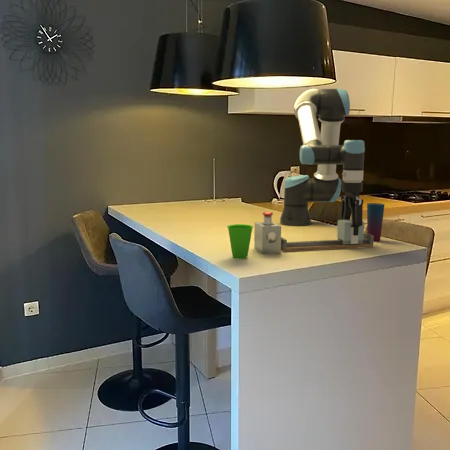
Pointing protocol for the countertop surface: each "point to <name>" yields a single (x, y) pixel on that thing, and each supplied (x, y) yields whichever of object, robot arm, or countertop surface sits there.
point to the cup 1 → (240, 239)
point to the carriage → (348, 231)
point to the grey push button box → (267, 238)
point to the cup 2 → (375, 219)
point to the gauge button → (267, 218)
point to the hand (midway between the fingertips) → (349, 241)
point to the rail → (306, 248)
